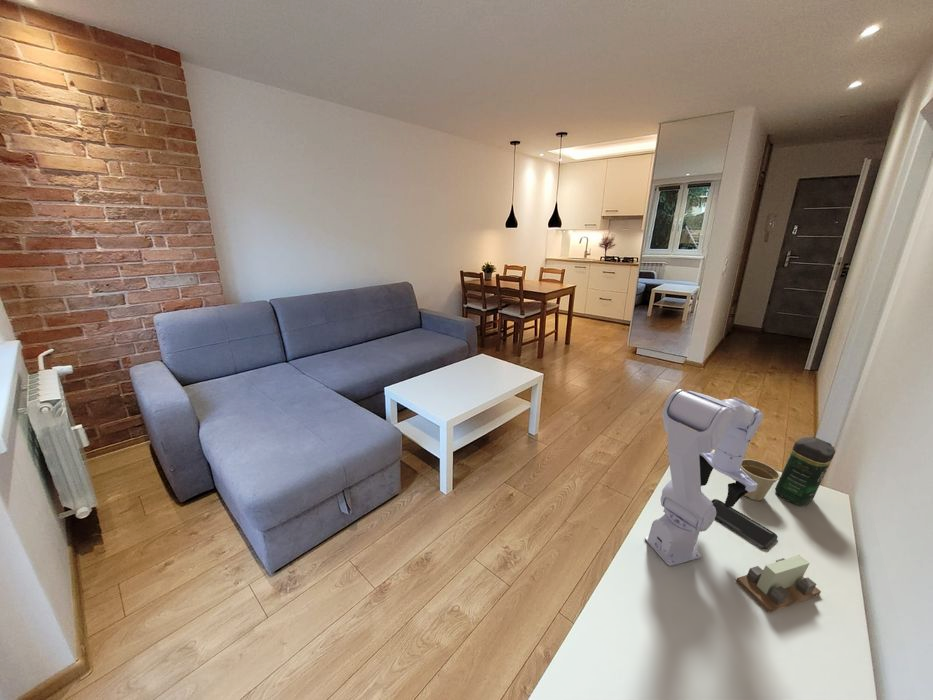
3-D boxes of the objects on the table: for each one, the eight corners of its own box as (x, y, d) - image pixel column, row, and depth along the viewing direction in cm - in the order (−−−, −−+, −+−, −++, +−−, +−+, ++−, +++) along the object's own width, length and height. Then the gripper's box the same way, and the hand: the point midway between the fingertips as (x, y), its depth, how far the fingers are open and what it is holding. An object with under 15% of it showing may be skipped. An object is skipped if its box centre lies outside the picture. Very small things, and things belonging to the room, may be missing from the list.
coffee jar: (803, 510, 101) (829, 454, 95) (770, 492, 107) (792, 439, 101) (817, 499, 106) (842, 445, 99) (784, 482, 112) (806, 430, 106)
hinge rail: (768, 612, 73) (774, 600, 72) (735, 581, 79) (740, 569, 78) (819, 594, 77) (825, 582, 76) (784, 566, 84) (789, 554, 82)
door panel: (766, 594, 76) (775, 573, 74) (756, 585, 78) (765, 565, 76) (799, 583, 79) (809, 563, 76) (789, 575, 80) (799, 555, 78)
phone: (715, 497, 103) (779, 535, 91) (714, 501, 103) (777, 539, 91) (701, 507, 99) (765, 548, 87) (700, 511, 99) (764, 552, 87)
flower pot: (723, 485, 109) (731, 461, 107) (745, 480, 112) (754, 456, 109) (754, 507, 101) (764, 482, 98) (778, 501, 104) (788, 476, 101)
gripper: (774, 466, 81) (755, 513, 86) (716, 431, 94) (702, 474, 99) (751, 470, 79) (732, 519, 84) (695, 434, 92) (681, 478, 97)
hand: (714, 495), depth 91 cm, fingers open, 7 cm apart
